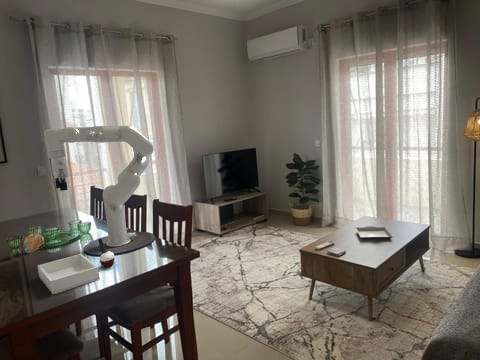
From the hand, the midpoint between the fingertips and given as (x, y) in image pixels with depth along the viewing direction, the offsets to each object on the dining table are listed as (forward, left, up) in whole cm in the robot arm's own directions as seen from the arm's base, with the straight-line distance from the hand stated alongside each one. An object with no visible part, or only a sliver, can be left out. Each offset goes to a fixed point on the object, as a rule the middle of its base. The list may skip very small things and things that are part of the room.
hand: (61, 189), depth 176 cm
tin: (+13, -21, -34) cm, 42 cm away
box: (+10, +32, -33) cm, 47 cm away
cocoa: (-7, +30, -34) cm, 46 cm away
